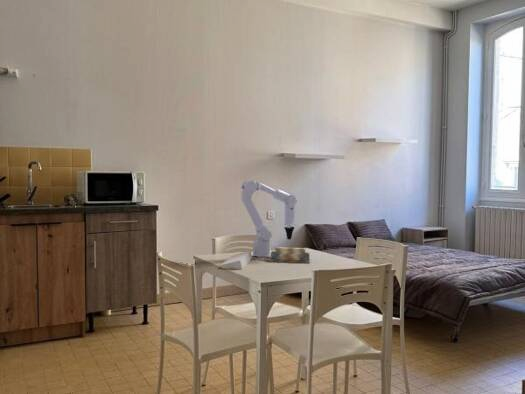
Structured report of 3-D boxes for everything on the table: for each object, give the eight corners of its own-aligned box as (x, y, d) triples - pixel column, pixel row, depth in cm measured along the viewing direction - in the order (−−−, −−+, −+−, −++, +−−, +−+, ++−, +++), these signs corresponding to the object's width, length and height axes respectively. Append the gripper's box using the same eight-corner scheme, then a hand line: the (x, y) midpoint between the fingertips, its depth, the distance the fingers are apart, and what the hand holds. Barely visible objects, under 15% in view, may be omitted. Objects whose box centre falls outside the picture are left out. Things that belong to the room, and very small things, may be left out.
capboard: (269, 261, 270) (269, 253, 270) (271, 258, 281) (271, 250, 281) (309, 263, 267) (309, 254, 267) (310, 260, 278) (310, 252, 278)
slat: (275, 258, 274) (275, 247, 274) (275, 258, 276) (275, 247, 276) (304, 260, 272) (305, 248, 272) (305, 259, 274) (305, 248, 274)
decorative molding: (222, 274, 246) (242, 270, 245) (220, 265, 246) (240, 260, 245) (234, 263, 280) (252, 259, 279) (232, 255, 280) (250, 251, 279)
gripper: (296, 216, 286) (295, 241, 286) (297, 215, 300) (296, 238, 301) (283, 216, 287) (282, 240, 287) (285, 214, 301) (284, 237, 301)
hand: (289, 239), depth 294 cm, fingers closed
